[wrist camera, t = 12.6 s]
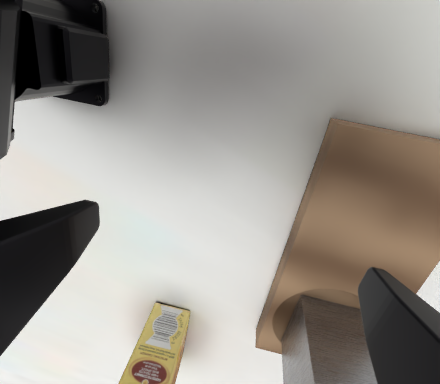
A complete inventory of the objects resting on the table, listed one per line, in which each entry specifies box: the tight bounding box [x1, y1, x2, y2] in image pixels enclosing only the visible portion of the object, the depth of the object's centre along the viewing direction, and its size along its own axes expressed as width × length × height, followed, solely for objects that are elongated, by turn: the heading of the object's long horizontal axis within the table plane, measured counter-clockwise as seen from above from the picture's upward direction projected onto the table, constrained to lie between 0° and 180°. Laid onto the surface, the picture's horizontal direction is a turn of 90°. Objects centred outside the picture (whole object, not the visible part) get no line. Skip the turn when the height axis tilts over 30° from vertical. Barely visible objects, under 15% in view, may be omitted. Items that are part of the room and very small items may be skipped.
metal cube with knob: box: [281, 294, 377, 384], centre depth 19 cm, size 6×6×8 cm
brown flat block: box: [256, 118, 440, 354], centre depth 20 cm, size 22×10×5 cm, turn 170°
